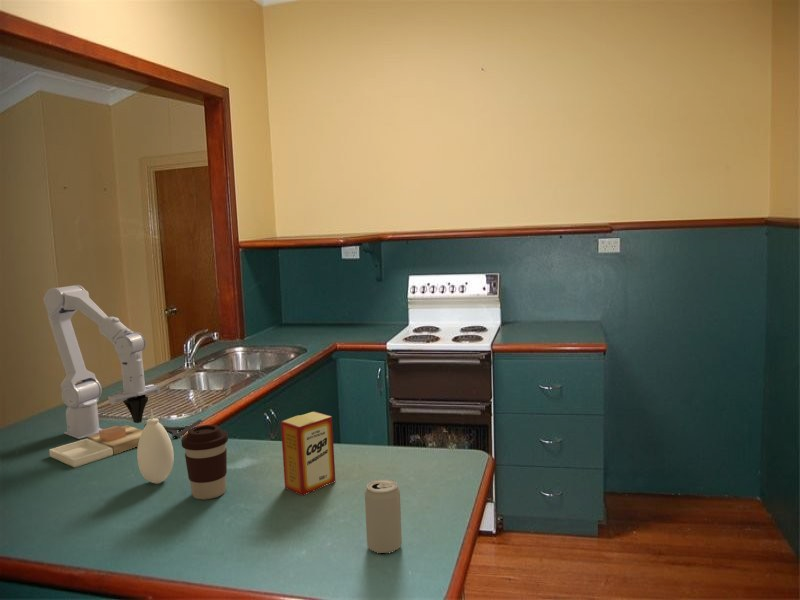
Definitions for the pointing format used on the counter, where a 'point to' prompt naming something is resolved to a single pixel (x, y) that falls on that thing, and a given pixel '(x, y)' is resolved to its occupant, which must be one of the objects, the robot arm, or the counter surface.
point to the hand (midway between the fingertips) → (137, 422)
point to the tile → (112, 433)
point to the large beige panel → (121, 440)
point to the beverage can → (383, 516)
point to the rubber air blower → (155, 452)
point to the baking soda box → (308, 452)
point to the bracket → (184, 429)
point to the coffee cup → (206, 460)
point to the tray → (81, 452)
